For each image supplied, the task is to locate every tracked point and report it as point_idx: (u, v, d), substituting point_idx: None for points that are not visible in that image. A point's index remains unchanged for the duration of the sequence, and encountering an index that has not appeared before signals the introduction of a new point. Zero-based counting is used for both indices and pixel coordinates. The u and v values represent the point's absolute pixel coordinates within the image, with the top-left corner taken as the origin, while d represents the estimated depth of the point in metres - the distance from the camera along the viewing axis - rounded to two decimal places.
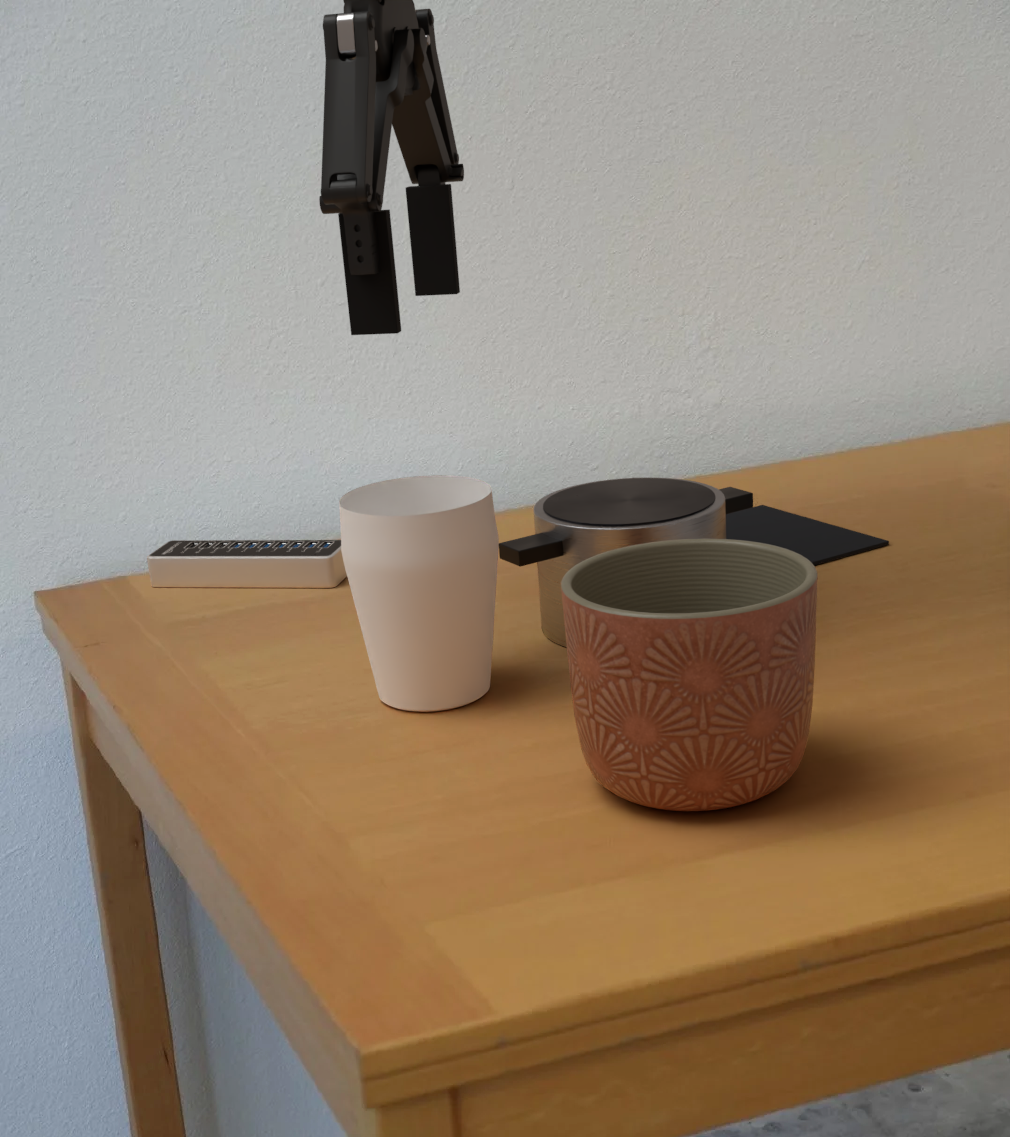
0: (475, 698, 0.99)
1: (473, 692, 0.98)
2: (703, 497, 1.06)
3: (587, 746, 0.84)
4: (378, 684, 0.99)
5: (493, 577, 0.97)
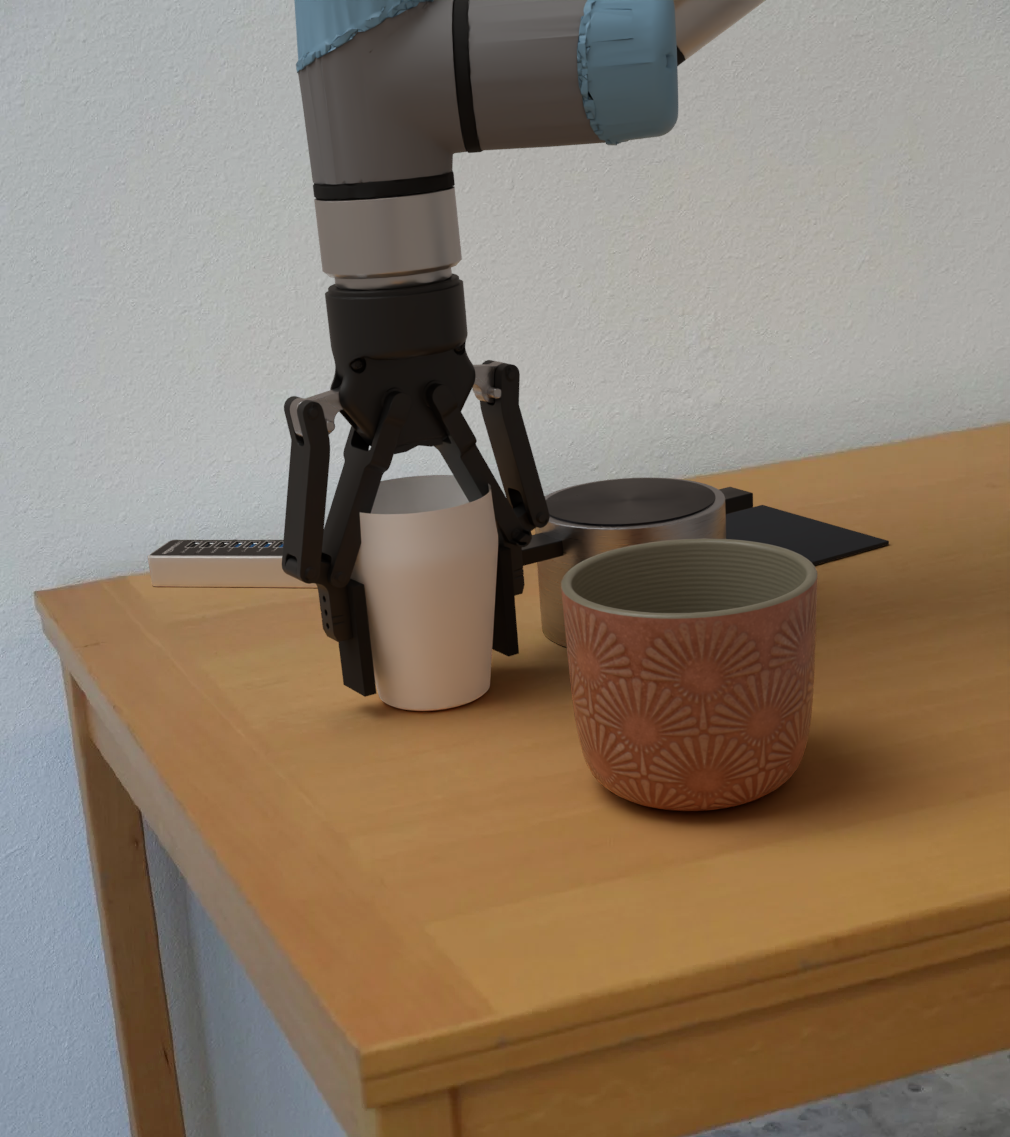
0: (475, 697, 0.99)
1: (473, 691, 0.98)
2: (703, 497, 1.06)
3: (587, 746, 0.84)
4: (378, 684, 0.99)
5: (493, 576, 0.97)
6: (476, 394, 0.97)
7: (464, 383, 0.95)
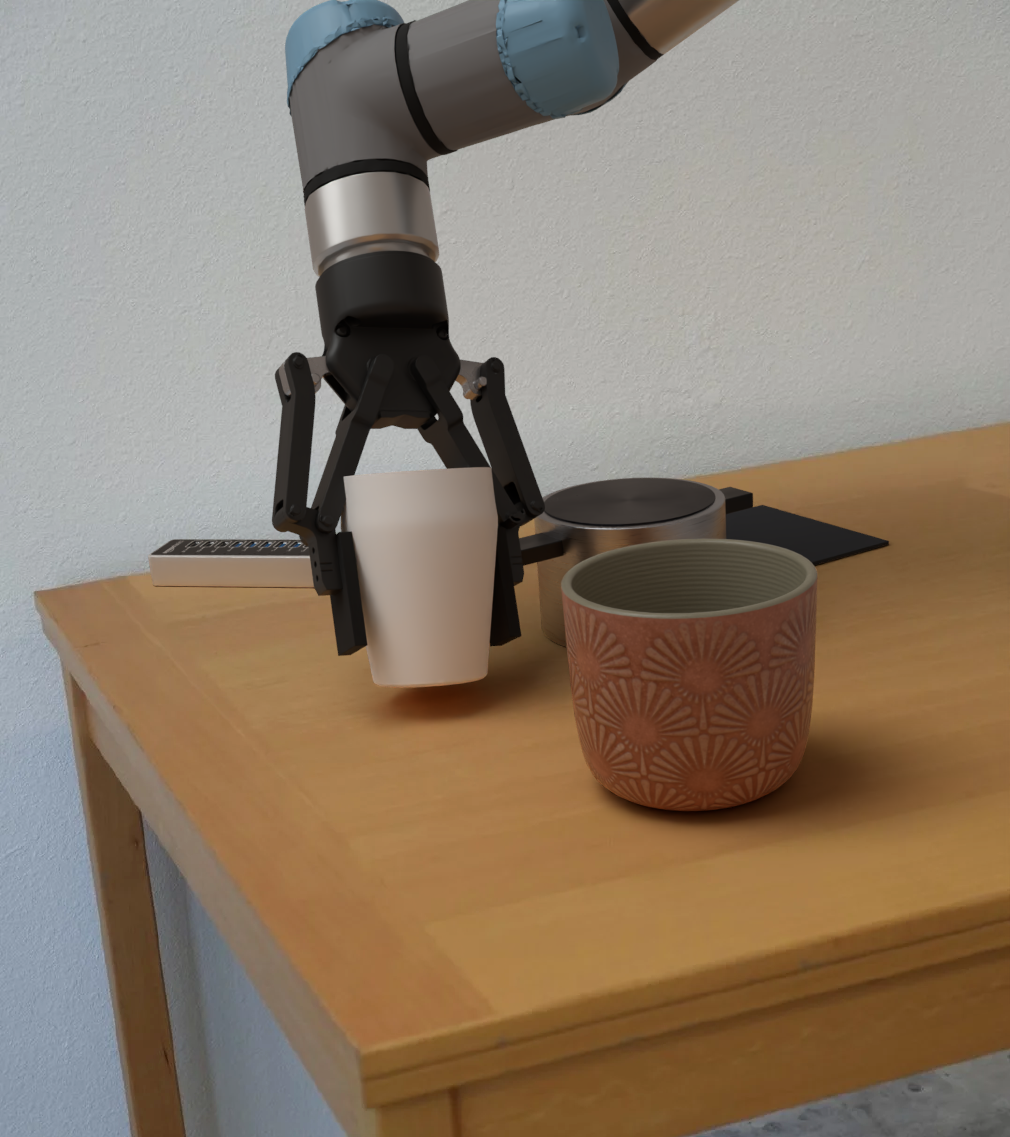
0: (469, 677, 0.97)
1: (467, 670, 0.96)
2: (703, 497, 1.06)
3: (587, 746, 0.84)
4: (372, 664, 0.98)
5: (490, 552, 0.96)
6: (465, 391, 1.02)
7: (449, 366, 1.00)
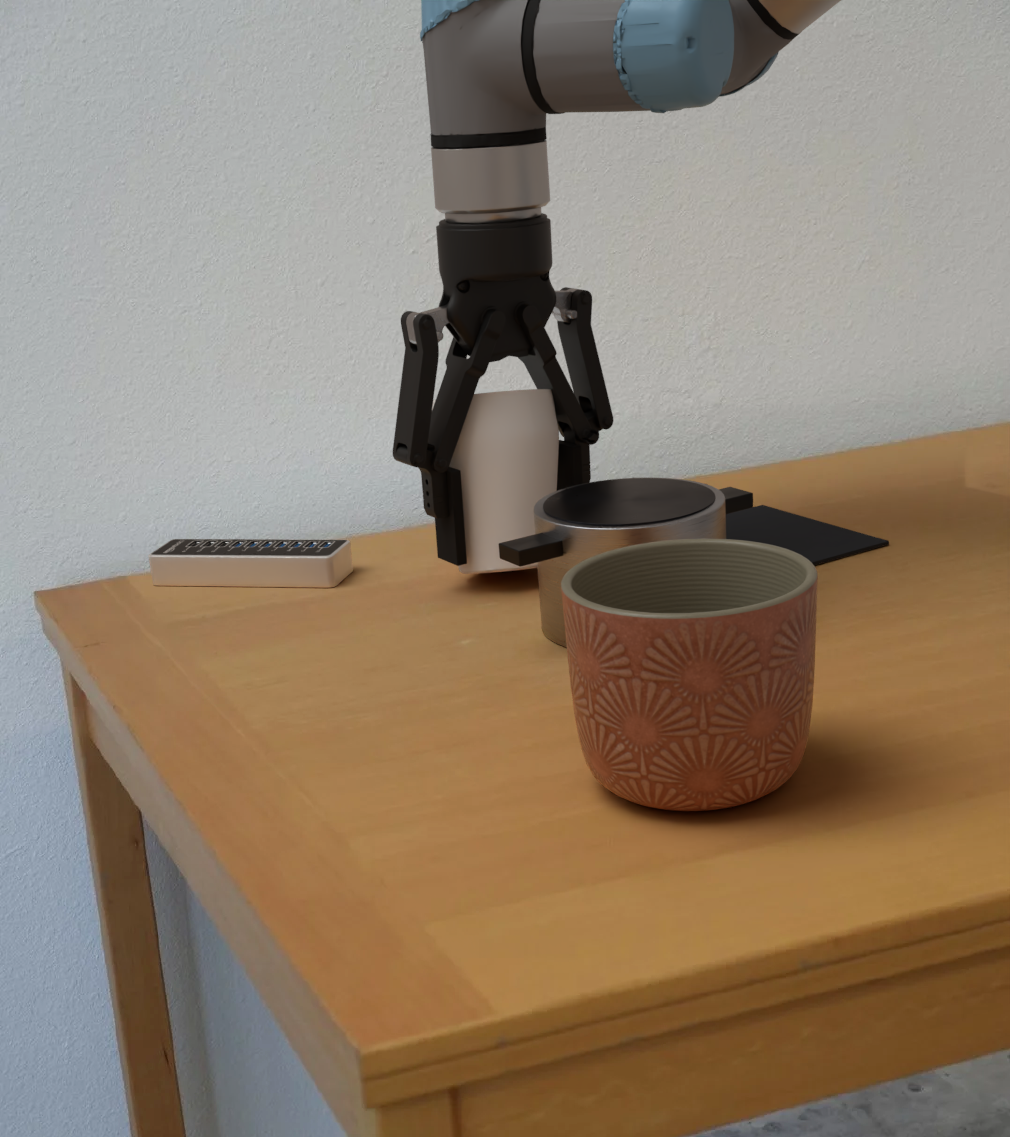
0: (517, 566, 1.17)
1: None
2: (703, 497, 1.06)
3: (587, 746, 0.84)
4: None
5: (534, 461, 1.15)
6: (555, 315, 1.16)
7: (547, 305, 1.14)
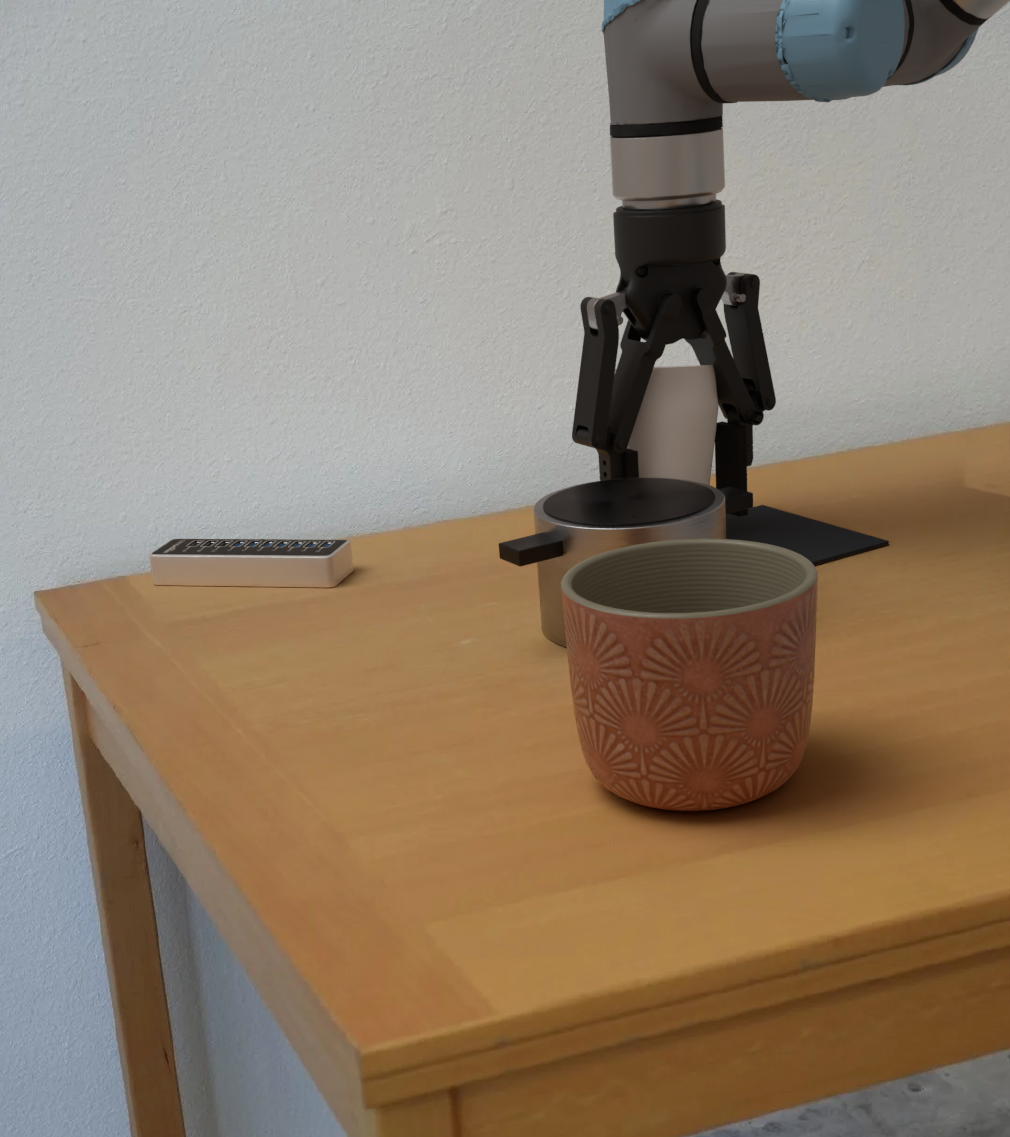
0: None
1: None
2: (703, 497, 1.06)
3: (587, 746, 0.84)
4: None
5: (709, 434, 1.21)
6: (723, 299, 1.20)
7: (718, 288, 1.18)
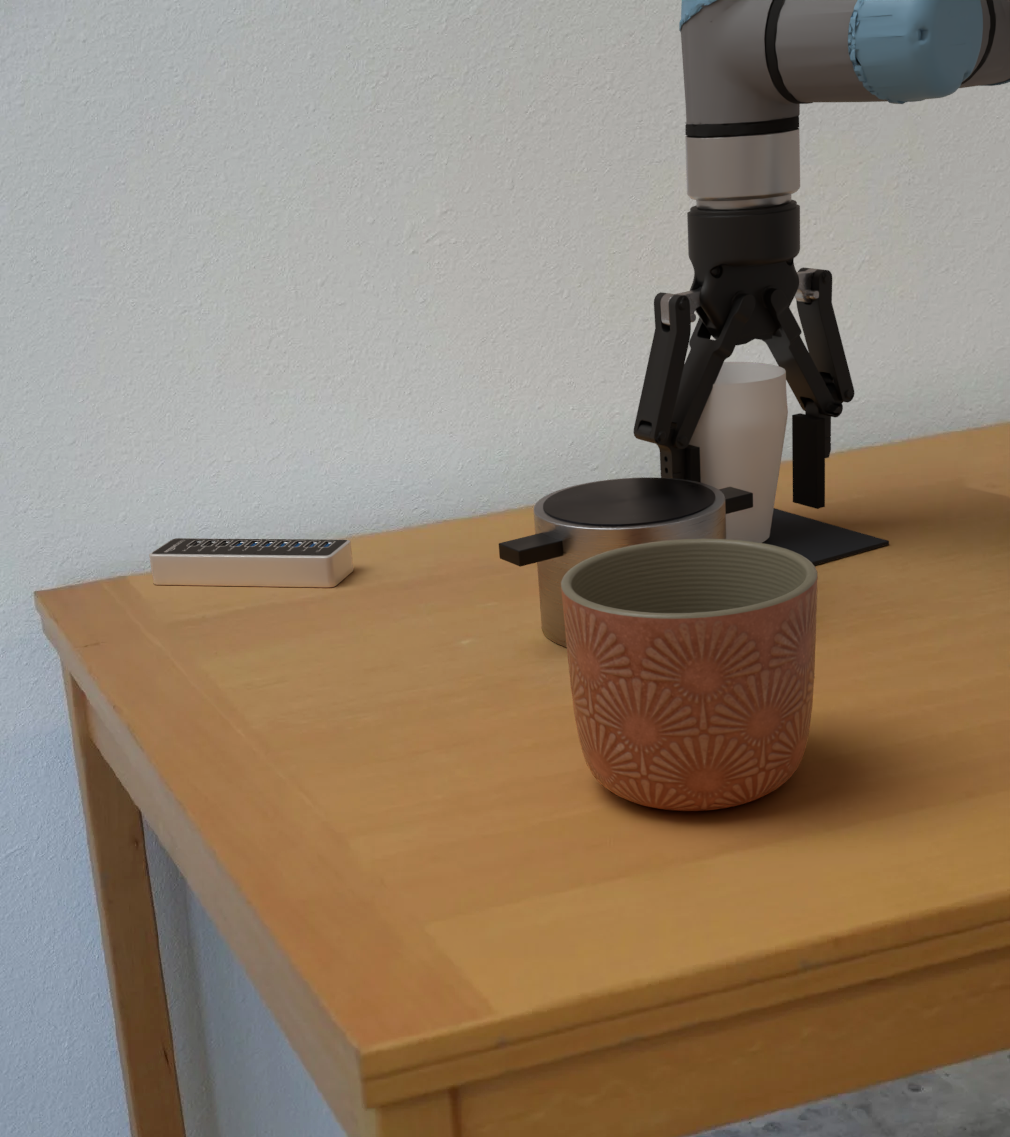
0: None
1: (753, 537, 1.21)
2: (703, 497, 1.06)
3: (587, 746, 0.84)
4: None
5: (779, 444, 1.19)
6: (796, 296, 1.19)
7: (791, 288, 1.17)
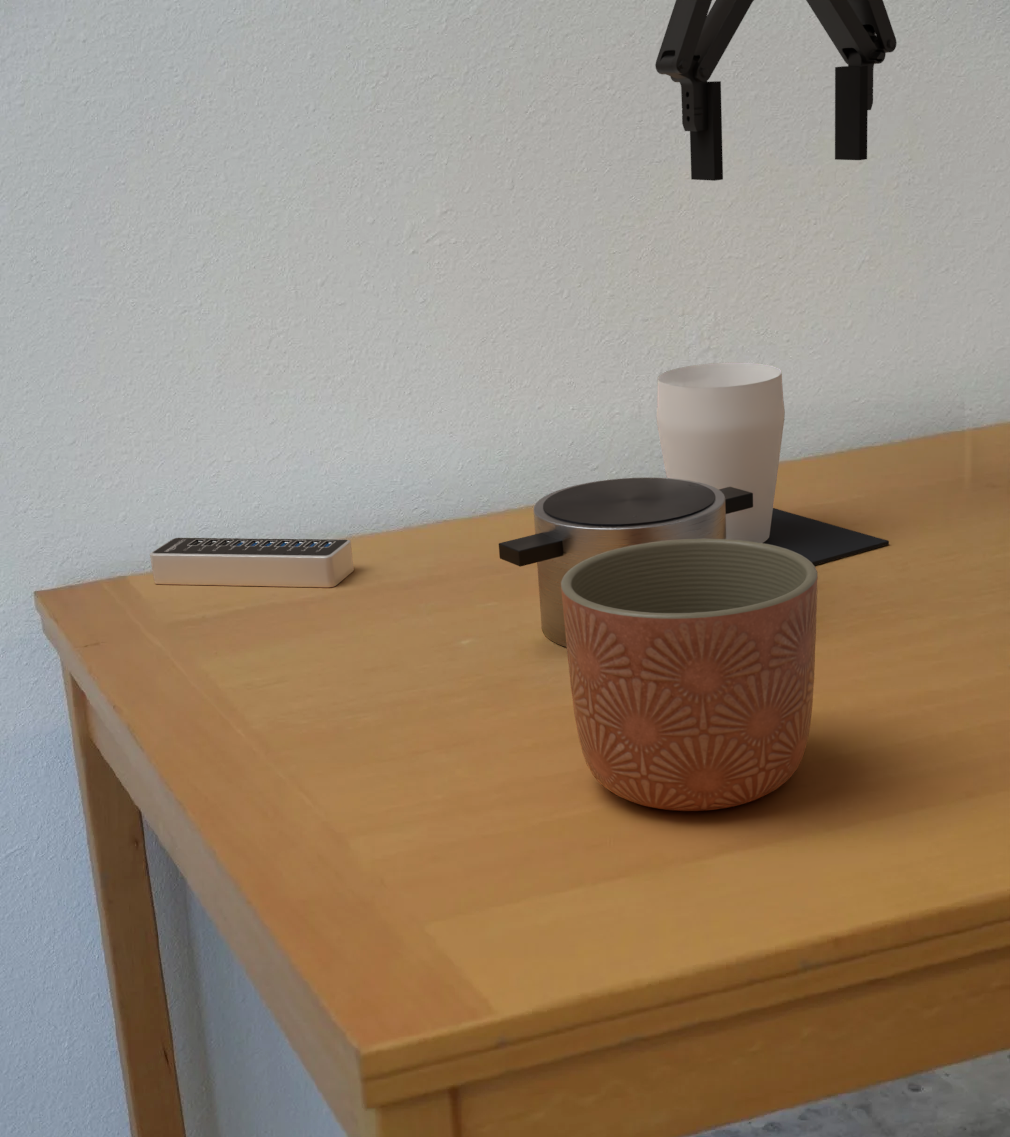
0: None
1: (753, 539, 1.21)
2: (703, 497, 1.06)
3: (587, 746, 0.84)
4: None
5: (776, 445, 1.19)
6: None
7: None
